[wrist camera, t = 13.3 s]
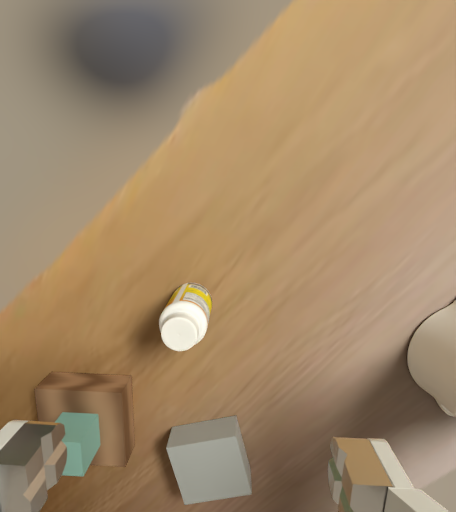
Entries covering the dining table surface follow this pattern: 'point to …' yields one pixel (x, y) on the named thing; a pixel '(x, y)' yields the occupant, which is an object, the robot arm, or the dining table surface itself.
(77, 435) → the teal cube
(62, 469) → the robot arm
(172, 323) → the supplement bottle
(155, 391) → the dining table surface
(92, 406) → the walnut block
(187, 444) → the slate block
